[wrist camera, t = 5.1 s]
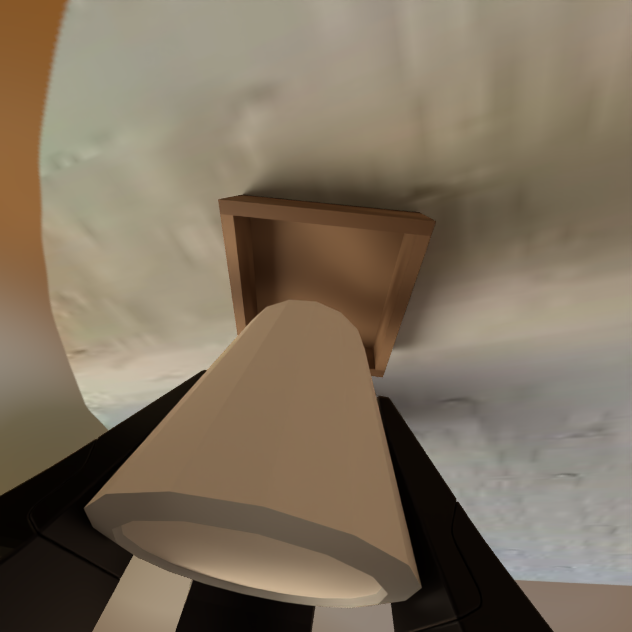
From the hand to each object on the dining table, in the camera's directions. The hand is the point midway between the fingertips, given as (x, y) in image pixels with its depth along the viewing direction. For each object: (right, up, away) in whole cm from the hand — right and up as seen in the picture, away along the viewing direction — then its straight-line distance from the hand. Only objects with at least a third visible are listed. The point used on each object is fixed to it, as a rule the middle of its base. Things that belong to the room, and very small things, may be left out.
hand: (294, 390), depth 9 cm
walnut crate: (+1, +5, +8) cm, 10 cm away
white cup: (0, +1, +2) cm, 2 cm away
